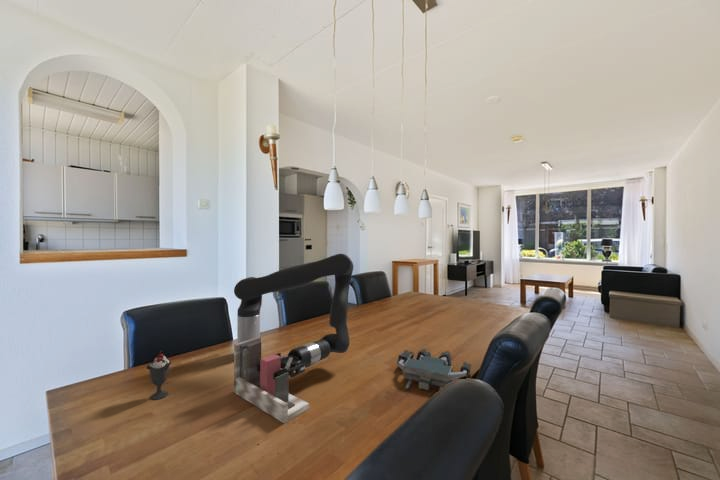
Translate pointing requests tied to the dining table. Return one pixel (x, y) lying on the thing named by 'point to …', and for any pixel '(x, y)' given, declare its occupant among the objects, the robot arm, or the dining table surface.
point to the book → (269, 372)
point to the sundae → (159, 375)
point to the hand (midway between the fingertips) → (265, 372)
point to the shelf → (263, 395)
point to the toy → (430, 369)
